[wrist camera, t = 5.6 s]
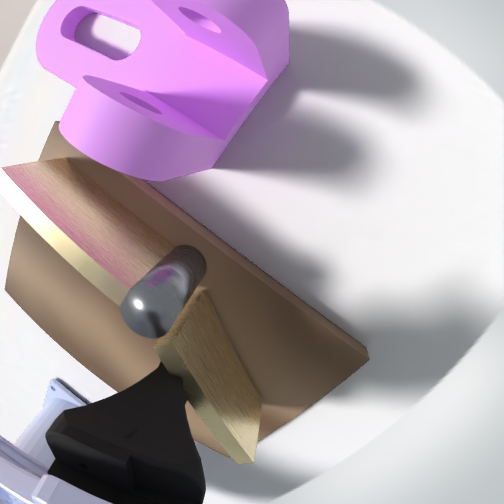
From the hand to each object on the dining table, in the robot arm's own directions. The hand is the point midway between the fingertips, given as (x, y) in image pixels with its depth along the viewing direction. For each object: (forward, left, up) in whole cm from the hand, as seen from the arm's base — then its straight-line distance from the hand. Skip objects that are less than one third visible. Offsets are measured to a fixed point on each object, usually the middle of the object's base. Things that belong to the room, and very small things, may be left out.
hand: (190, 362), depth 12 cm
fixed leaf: (+3, +6, -2) cm, 7 cm away
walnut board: (-2, +3, -3) cm, 4 cm away
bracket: (+9, +11, -3) cm, 15 cm away
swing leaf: (0, -1, -2) cm, 2 cm away
